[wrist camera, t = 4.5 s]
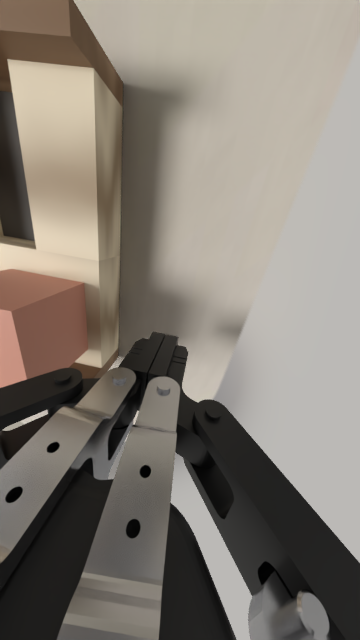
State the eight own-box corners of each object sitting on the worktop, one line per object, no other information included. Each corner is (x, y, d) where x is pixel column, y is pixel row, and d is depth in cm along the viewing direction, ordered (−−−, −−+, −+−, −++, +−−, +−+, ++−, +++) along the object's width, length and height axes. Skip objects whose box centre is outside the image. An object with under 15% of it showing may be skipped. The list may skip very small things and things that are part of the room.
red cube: (11, 268, 13) (-98, 288, 8) (84, 282, 12) (11, 311, 8) (25, 335, 15) (-56, 380, 10) (88, 349, 15) (32, 401, 10)
